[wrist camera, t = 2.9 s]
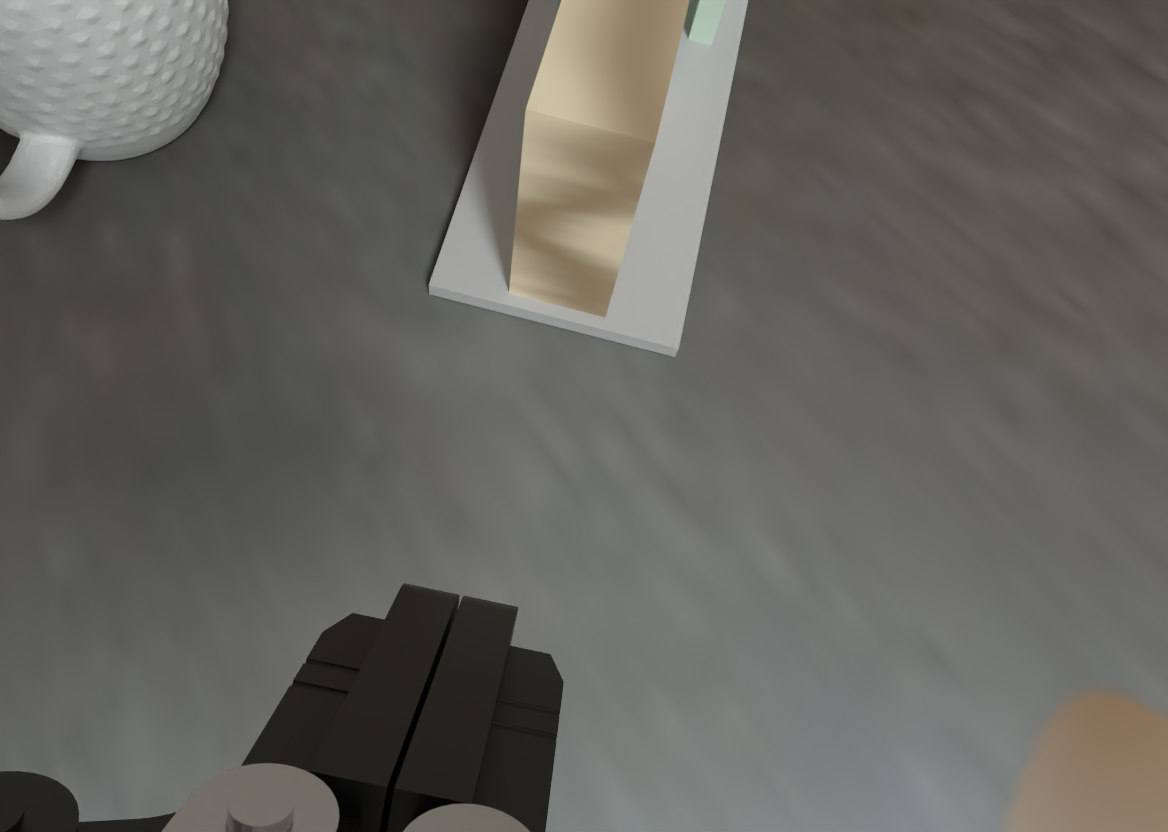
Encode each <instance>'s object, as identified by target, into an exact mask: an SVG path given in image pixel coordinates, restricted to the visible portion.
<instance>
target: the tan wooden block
mask: <svg viewBox="0 0 1168 832" xmlns="http://www.w3.org/2000/svg"><path fill="white" fill-rule="evenodd" d="M689 1H690V0H561V3H560V6H559V9H558V12H557V15H556V18H555V22H554V25H553V28H552V31H551V34H550V37H549V40H548V43H547V46H546V49H545V52H544V55H543V58H542V61H541V64H540V67H539V70H538V73H537V76H536V79H535V82H534V85H533V88H532V91H531V94H530V98H529V101H528V104H527V107H526V111H525V122H524V133H523V144H522V155H521V166H520V177H519V188H518V199H517V210H516V221H515V232H514V243H513V254H512V265H511V276H510V287H509V293H512V294H515V295H519V296H523V297H527V298H531V299H535V300H539V301H543V302H547V303H551V304H554V305H558V306H562V307H566V308H570V309H574V310H578V311H582V312H586V313H590V314H593V315H597V316H601V317H605V318H606V314H607V311H608V307H609V304H610V300H611V297H612V293H613V290H614V286H615V283H616V279H617V276H618V272H619V269H620V265H621V262H622V258H623V255H624V251H625V248H626V244H627V241H628V237H629V234H630V230H631V227H632V223H633V220H634V216H635V213H636V209H637V206H638V202H639V199H640V195H641V192H642V188H643V185H644V181H645V178H646V174H647V171H648V167H649V164H650V160H651V157H652V153H653V150H654V146H655V143H656V139H657V134H658V130H659V126H660V122H661V118H662V114H663V109H664V105H665V101H666V97H667V93H668V89H669V84H670V80H671V76H672V72H673V68H674V64H675V59H676V55H677V51H678V47H679V43H680V39H681V34H682V30H683V26H684V22H685V18H686V14H687V9H688V5H689Z"/></svg>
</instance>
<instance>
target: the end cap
mask: <svg viewBox="0 0 1168 832" xmlns="http://www.w3.org/2000/svg"><path fill="white" fill-rule="evenodd" d="M725 1H726V0H697V4H696V8H695V13H694V17H693V21H692V26H691V30H690V34H689V38H688V39H689V40H693V41H697V42H700V43H704V44H708V45H712V42H713V39H714V35H715V32H716V29H717V26H718V23H719V20H720V17H721V14H722V11H723V8H724V4H725ZM560 3H561V0H557V4H556V5H560Z"/></svg>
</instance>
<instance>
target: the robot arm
mask: <svg viewBox="0 0 1168 832" xmlns="http://www.w3.org/2000/svg"><path fill="white" fill-rule="evenodd" d="M458 605H459V595H457V594H453V593H448V592H443V591H438V590H434V589H429V588H424V587H419V586H415V585H410V584H405V583H404V584H403V585H402V586H401V588H400V590H399V592H398V594H397V596H396V598H395V600H394V602H393V604H392V606H391V608H390V610H389V612H388V614H387V616H386V618H385V620H383V619H379V618H374V617H369V616H364V615H359V614H355V613H352V614H350V615H349V616H347V617H346V618H344V619H342V620H341V621H339V622H338V623H336V624H335V625H333V626H331V627H330V628H328V629H327V630H325V631H323V632H322V634H321V636H320V637H319V639H318V641H317V642H316V644H315V645H314V647H313V649H312V650H311V652H310V654H309V655H308V657H307V660H306V663H305V664H303V665H302V667H301V668H300V670H299V672H298V673H297V675H296V677H295V678H294V680H293V684H292V686H290V687H289V688H288V690H287V692H286V693H285V695H284V696H283V698H282V700H281V701H280V703H279V705H278V706H277V708H276V710H275V711H274V713H273V715H272V716H271V718H270V719H269V721H268V723H267V724H266V726H265V728H264V729H263V731H262V733H261V734H260V736H259V738H258V739H257V741H256V742H255V744H254V746H253V747H252V749H251V751H250V752H249V754H248V756H247V757H246V759H245V761H244V762H243V764H242V766H240V767H237V768H233V769H229V770H227V771H225V772H222V773H220V774H217V775H216V776H214V777H212V778H210V779H209V780H207V781H205V782H204V783H203V784H202V785H200V786H199V787H198V788H197V789H196V790H195V791H194V792H193V793H192V794H191V795H190V796H189V797H188V798H187V800H186V801H185V802H184V803H183V805H182V806H181V807H180V809H179V810H178V811H177V812H175V813H172V814H168V815H163V816H158V817H152V818H142V819H128V820H110V821H92V822H79V810H78V805H77V802H76V800H75V798H74V796H73V794H72V793H71V792H70V791H69V790H68V789H67V788H66V787H65V786H64V785H62V784H61V783H59V782H58V781H56V780H53V779H51V778H49V777H47V776H43V775H39V774H35V773H29V772H20V771H3V772H0V832H545V829H546V821H547V813H548V805H549V797H550V788H551V780H552V772H553V764H554V756H555V748H556V737H557V732H558V723H559V713H560V707H561V699H562V691H563V683H564V682H563V680H562V678H561V676H560V673H559V671H558V669H557V667H556V665H555V663H554V661H553V659H552V657H551V655H550V654H547V653H542V652H537V651H533V650H528V649H523V648H518V647H513V646H510V645H511V640H512V635H513V631H514V626H515V621H516V616H517V611H518V607H516V606H511V605H506V604H501V603H497V602H492V601H487V600H482V599H477V598H473V597H468V596H463V598H462V600H461V603H460V606H459V609H458Z"/></svg>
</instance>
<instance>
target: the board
mask: <svg viewBox="0 0 1168 832" xmlns="http://www.w3.org/2000/svg"><path fill="white" fill-rule="evenodd" d="M556 4H557V0H529V1H528V4H527V7H526V10H525V12H524V15H523V18H522V21H521V24H520V27H519V29H518V32H517V35H516V38H515V41H514V44H513V46H512V49H511V52H510V55H509V58H508V61H507V64H506V66H505V69H504V72H503V75H502V78H501V81H500V83H499V86H498V89H497V92H496V95H495V98H494V101H493V103H492V106H491V109H490V112H489V115H488V118H487V120H486V123H485V126H484V129H483V132H482V135H481V137H480V140H479V143H478V146H477V149H476V152H475V155H474V157H473V160H472V163H471V166H470V169H469V172H468V174H467V177H466V180H465V183H464V186H463V189H462V192H461V194H460V197H459V200H458V203H457V206H456V209H455V211H454V214H453V217H452V220H451V223H450V226H449V228H448V231H447V234H446V237H445V240H444V243H443V246H442V248H441V251H440V254H439V257H438V260H437V263H436V265H435V268H434V271H433V274H432V277H431V280H430V283H429V294H431V295H435V296H439V297H442V298H446V299H450V300H454V301H458V302H462V303H466V304H470V305H474V306H478V307H481V308H485V309H489V310H493V311H497V312H501V313H505V314H509V315H513V316H517V317H521V318H524V319H528V320H532V321H536V322H540V323H544V324H548V325H552V326H556V327H560V328H564V329H567V330H571V331H575V332H579V333H583V334H587V335H591V336H595V337H599V338H603V339H607V340H610V341H614V342H618V343H622V344H626V345H630V346H634V347H638V348H642V349H646V350H650V351H653V352H657V353H661V354H665V355H669V356H673V357H675V356H676V354H677V351H678V349H679V345H680V340H681V335H682V330H683V325H684V320H685V315H686V310H687V305H688V300H689V295H690V289H691V284H692V279H693V274H694V269H695V264H696V259H697V254H698V249H699V244H700V239H701V234H702V229H703V224H704V219H705V214H706V209H707V204H708V199H709V194H710V189H711V184H712V179H713V174H714V169H715V164H716V159H717V154H718V149H719V144H720V139H721V134H722V129H723V124H724V119H725V114H726V109H727V104H728V99H729V94H730V89H731V84H732V79H733V74H734V69H735V64H736V59H737V54H738V49H739V44H740V39H741V34H742V29H743V24H744V19H745V14H746V9H747V4H748V0H726V1H725V4H724V8H723V11H722V14H721V17H720V20H719V23H718V26H717V29H716V32H715V35H714V39H713V42H712V45H708V44H704V43H700V42H697V41H693V40H689V39H688V38H689V34H690V30H691V26H692V21H693V17H694V13H695V8H696V4H697V0H690V1H689V5H688V9H687V14H686V18H685V22H684V26H683V30H682V34H681V39H680V43H679V47H678V51H677V55H676V59H675V64H674V68H673V72H672V76H671V80H670V84H669V89H668V93H667V97H666V101H665V105H664V109H663V114H662V118H661V122H660V126H659V130H658V134H657V139H656V143H655V146H654V150H653V153H652V157H651V160H650V164H649V167H648V171H647V174H646V178H645V181H644V185H643V188H642V192H641V195H640V199H639V202H638V206H637V209H636V213H635V216H634V220H633V223H632V227H631V230H630V234H629V237H628V241H627V244H626V248H625V251H624V255H623V258H622V262H621V265H620V269H619V272H618V276H617V279H616V283H615V286H614V290H613V293H612V297H611V300H610V304H609V307H608V311H607V314H606V318H605V317H601V316H597V315H593V314H590V313H586V312H582V311H578V310H574V309H570V308H566V307H562V306H558V305H554V304H551V303H547V302H543V301H539V300H535V299H531V298H527V297H523V296H519V295H515V294H512V293H509V287H510V276H511V265H512V254H513V243H514V232H515V221H516V210H517V199H518V188H519V177H520V166H521V155H522V144H523V133H524V122H525V111H526V107H527V104H528V101H529V98H530V94H531V91H532V88H533V85H534V82H535V79H536V76H537V73H538V70H539V67H540V64H541V61H542V58H543V55H544V52H545V49H546V46H547V43H548V40H549V37H550V34H551V31H552V28H553V25H554V22H555V18H556V15H557V12H558V9H559V6H560V5H556Z"/></svg>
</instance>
